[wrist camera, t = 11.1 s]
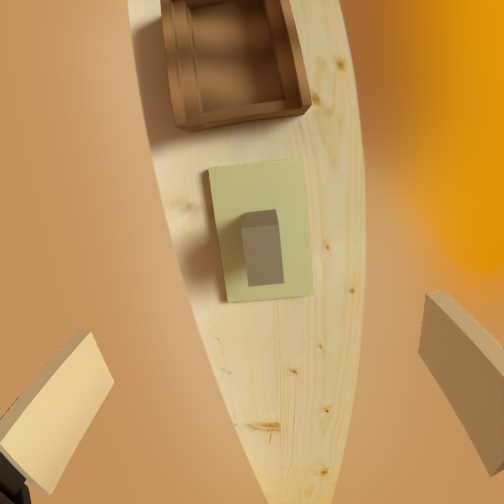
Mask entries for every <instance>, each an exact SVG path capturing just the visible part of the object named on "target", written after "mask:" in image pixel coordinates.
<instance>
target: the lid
mask: <svg viewBox="0 0 504 504" xmlns="http://www.w3.org/2000/svg"><path fill="white" fill-rule="evenodd" d="M208 172H209V179H210V187H211V194H212V201H213V208H214V215H215V222H216V229H217V236H218V242H219V249H220V255H221V262H222V268H223V274H224V281H225V287H226V293H227V299H228V303H231V302H244V301H256V300H267V299H277V298H288V297H297V296H307V295H314V294H313V272H312V254H311V239H310V225H309V212H308V200H307V188H306V178H305V168H304V158H294V159H283V160H273V161H263V162H254V163H245V164H237V165H229V166H222V167H215V168H208Z"/></svg>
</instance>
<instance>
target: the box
mask: <svg viewBox="0 0 504 504" xmlns="http://www.w3.org/2000/svg"><path fill="white" fill-rule="evenodd" d="M160 2H161V14H162V25H163V35H164V45H165V54H166V63H167V71H168V79H169V87H170V95H171V102H172V109H173V116H174V123H175V127H178V128H181V129H183V130H186V131H189V132H194V131H199V130H204V129H208V128H214V127H219V126H224V125H230V124H236V123H242V122H248V121H254V120H261V119H268V118H276V117H284V116H293V115H303V114H305V112H306V111H307V110H308V109H309V107H310V106H311V105H312V102H311V96H310V91H309V86H308V81H307V75H306V70H305V66H304V61H303V56H302V52H301V47H300V43H299V38H298V34H297V30H296V26H295V22H294V18H293V14H292V10H291V6H290V2H289V0H160Z"/></svg>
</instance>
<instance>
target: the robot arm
mask: <svg viewBox="0 0 504 504" xmlns="http://www.w3.org/2000/svg"><path fill="white" fill-rule="evenodd" d="M418 353H419V355H420V356H421V358H422V359H423V361H424V362H425V364H426V365H427V367H428V369H429V370H430V372H431V373H432V375H433V376H434V378H435V380H436V381H437V383H438V384H439V386H440V387H441V389H442V391H443V392H444V394H445V396H446V397H447V399H448V401H449V402H450V404H451V406H452V407H453V409H454V411H455V412H456V414H457V416H458V418H459V419H460V421H461V423H462V425H463V426H464V428H465V430H466V432H467V433H468V435H469V437H470V439H471V441H472V443H473V445H474V446H475V448H476V450H477V452H478V454H479V456H480V458H481V460H482V462H483V463H484V466H485V467H486V470H487V472H488V474H489V476H490V477H492V476H493V475H495V474H497V473H499V472H500V471H502V470H504V347H503V346H501V344H500V343H499V342H497V340H496V339H495V338H494V337H493V336H492V335H491V334H490V333H489V332H488V331H486V329H485V328H484V327H482V325H480V324H479V323H478V322H477V321H476V320H475V319H474V318H473V317H472V316H471V315H470V314H469V313H468V312H467V311H466V310H465V309H463V308H462V307H461V306H460V305H459V304H458V303H457V302H456V301H455V300H454V299H453V298H451V297H450V296H449V295H448V294H447V293H446V292H444V290H442V289H441V290H436V291H432V292H427V293H426V294H425V305H424V314H423V322H422V330H421V337H420V343H419V349H418ZM113 384H114V380H113V378H112V376H111V374H110V372H109V370H108V368H107V366H106V364H105V362H104V360H103V357H102V356H101V353H100V351H99V349H98V346H97V344H96V342H95V339H94V337H93V335H92V332H91V331H78V332H77V333H76V334H75V335H74V336H73V337H72V338H71V339H70V340H69V341H68V343H67V344H66V345H65V346H64V347H63V348H62V349H61V350H60V351H59V352H58V353H57V354H56V355H55V357H54V358H53V359H52V360H51V361H50V362H49V363H48V364H47V365H46V367H45V368H44V369H43V370H42V371H41V372H40V374H38V376H37V377H36V378H35V379H34V380H33V381H32V383H31V384H30V385H29V386H28V387H27V388H26V389H25V391H24V392H23V393H22V394H21V395H20V397H18V398H17V399H16V401H15V402H14V403H13V404H12V406H11V407H10V408H9V409H8V410H7V412H6V414H4V415H3V417H2V418H1V419H0V504H31V499H30V493H29V489H28V487H27V486H26V485H25V484H24V482H25V480H26V479H27V480H28V481H29V482H30V483H31V484H32V485H33V486H34V487H35V488H36V489H38V490H40V491H43V492H44V493H47V494H49V495H51V494H52V492H53V490H54V488H55V486H56V484H57V482H58V480H59V478H60V477H61V475H62V473H63V471H64V469H65V467H66V466H67V464H68V462H69V460H70V458H71V456H72V455H73V452H74V451H75V449H76V447H77V446H78V444H79V442H80V440H81V438H82V437H83V435H84V433H85V431H86V429H87V428H88V426H89V424H90V423H91V421H92V419H93V418H94V416H95V414H96V412H97V411H98V409H99V407H100V406H101V404H102V402H103V401H104V399H105V397H106V396H107V394H108V392H109V391H110V389H111V387H112V386H113Z"/></svg>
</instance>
